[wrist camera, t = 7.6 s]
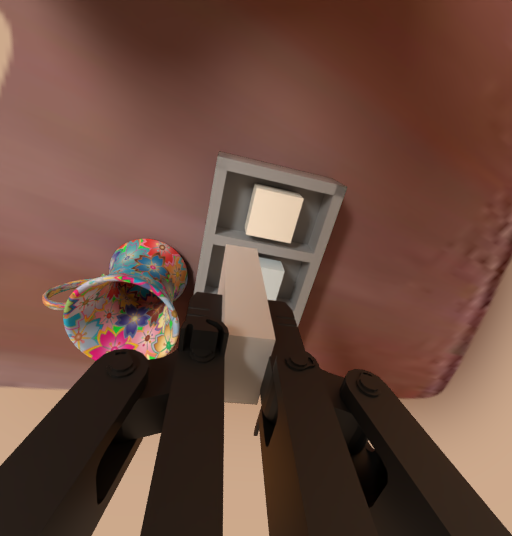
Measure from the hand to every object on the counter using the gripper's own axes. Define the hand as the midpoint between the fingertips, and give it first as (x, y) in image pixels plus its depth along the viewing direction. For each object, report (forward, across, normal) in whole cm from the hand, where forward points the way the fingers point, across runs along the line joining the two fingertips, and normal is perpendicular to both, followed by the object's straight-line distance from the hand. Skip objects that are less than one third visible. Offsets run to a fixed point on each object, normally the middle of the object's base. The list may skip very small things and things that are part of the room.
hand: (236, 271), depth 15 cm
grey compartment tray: (+19, +4, -8) cm, 21 cm away
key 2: (+16, +4, -1) cm, 17 cm away
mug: (+19, -9, -11) cm, 24 cm away
